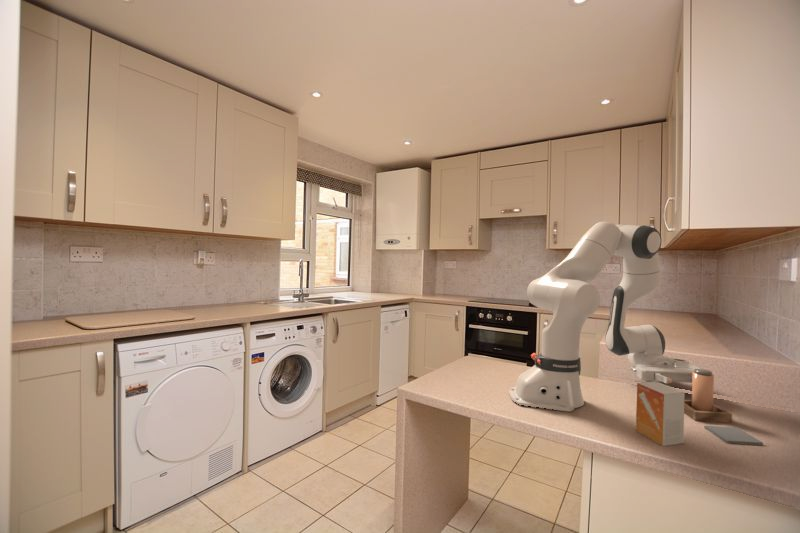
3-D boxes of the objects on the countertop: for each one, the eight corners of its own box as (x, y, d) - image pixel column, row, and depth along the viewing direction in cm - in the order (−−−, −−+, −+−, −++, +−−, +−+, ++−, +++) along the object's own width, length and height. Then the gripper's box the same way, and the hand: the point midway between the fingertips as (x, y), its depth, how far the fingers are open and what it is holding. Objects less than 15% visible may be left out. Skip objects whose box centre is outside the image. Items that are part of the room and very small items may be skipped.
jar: (698, 417, 105) (699, 373, 104) (687, 410, 110) (688, 368, 109) (717, 418, 104) (718, 374, 104) (705, 411, 109) (706, 368, 109)
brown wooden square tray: (695, 420, 103) (695, 412, 103) (675, 407, 112) (675, 399, 112) (731, 422, 102) (731, 413, 102) (708, 408, 111) (708, 400, 111)
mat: (726, 442, 91) (726, 440, 91) (704, 427, 99) (704, 425, 99) (763, 445, 90) (763, 442, 90) (737, 429, 98) (737, 427, 98)
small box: (635, 430, 97) (636, 382, 97) (655, 428, 98) (656, 380, 98) (662, 446, 89) (663, 393, 89) (684, 444, 90) (685, 391, 90)
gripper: (628, 358, 129) (649, 370, 115) (691, 360, 127) (721, 373, 113) (627, 375, 129) (649, 390, 116) (691, 378, 127) (720, 393, 113)
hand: (685, 381), depth 114 cm, fingers open, 8 cm apart
